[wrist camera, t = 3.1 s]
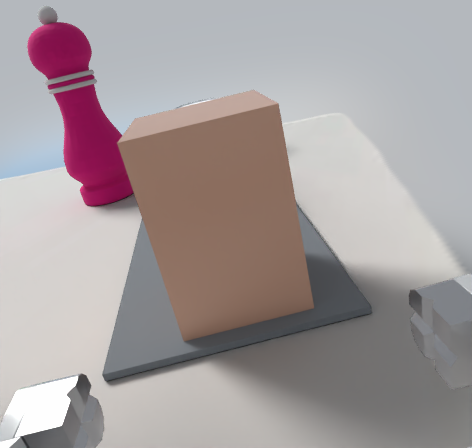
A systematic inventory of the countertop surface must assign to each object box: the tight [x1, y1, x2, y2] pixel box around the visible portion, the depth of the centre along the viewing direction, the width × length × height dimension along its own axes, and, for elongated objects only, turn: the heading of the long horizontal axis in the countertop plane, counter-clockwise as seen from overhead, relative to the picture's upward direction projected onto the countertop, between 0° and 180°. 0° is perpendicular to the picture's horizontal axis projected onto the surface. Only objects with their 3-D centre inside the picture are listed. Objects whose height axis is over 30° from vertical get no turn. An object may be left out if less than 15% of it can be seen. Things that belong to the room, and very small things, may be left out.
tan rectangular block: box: [117, 90, 314, 341], centre depth 22 cm, size 7×7×10 cm
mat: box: [102, 205, 372, 381], centre depth 31 cm, size 24×13×1 cm, turn 7°
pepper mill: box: [28, 6, 134, 206], centre depth 45 cm, size 7×7×20 cm
